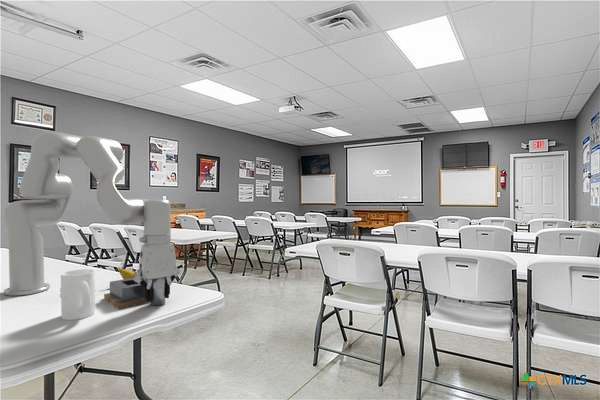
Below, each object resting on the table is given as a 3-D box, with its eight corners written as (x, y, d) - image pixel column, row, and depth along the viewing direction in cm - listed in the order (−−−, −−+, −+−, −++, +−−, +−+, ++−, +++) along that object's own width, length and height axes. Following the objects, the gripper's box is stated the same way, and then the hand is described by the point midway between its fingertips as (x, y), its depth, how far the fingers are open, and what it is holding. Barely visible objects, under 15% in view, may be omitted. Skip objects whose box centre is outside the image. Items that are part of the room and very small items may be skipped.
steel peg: (147, 302, 106) (147, 273, 106) (161, 299, 109) (161, 271, 109) (153, 306, 103) (153, 276, 103) (167, 302, 106) (167, 273, 106)
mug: (69, 326, 89) (68, 280, 88) (57, 315, 97) (56, 272, 96) (104, 317, 95) (103, 274, 94) (90, 308, 103) (89, 268, 102)
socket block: (109, 294, 112) (109, 281, 111) (145, 287, 120) (145, 275, 120) (122, 301, 104) (122, 288, 103) (159, 293, 112) (159, 281, 112)
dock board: (104, 298, 112) (104, 294, 112) (148, 289, 122) (148, 285, 122) (119, 309, 102) (119, 303, 102) (165, 298, 112) (165, 293, 112)
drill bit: (140, 285, 130) (120, 270, 124) (129, 290, 131) (109, 276, 125) (144, 273, 134) (124, 259, 128) (133, 279, 135) (113, 264, 129)
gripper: (133, 244, 97) (133, 308, 97) (189, 238, 109) (189, 295, 110) (123, 241, 102) (124, 302, 103) (178, 236, 114) (178, 291, 115)
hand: (157, 298), depth 106 cm, fingers closed on steel peg, 4 cm apart
